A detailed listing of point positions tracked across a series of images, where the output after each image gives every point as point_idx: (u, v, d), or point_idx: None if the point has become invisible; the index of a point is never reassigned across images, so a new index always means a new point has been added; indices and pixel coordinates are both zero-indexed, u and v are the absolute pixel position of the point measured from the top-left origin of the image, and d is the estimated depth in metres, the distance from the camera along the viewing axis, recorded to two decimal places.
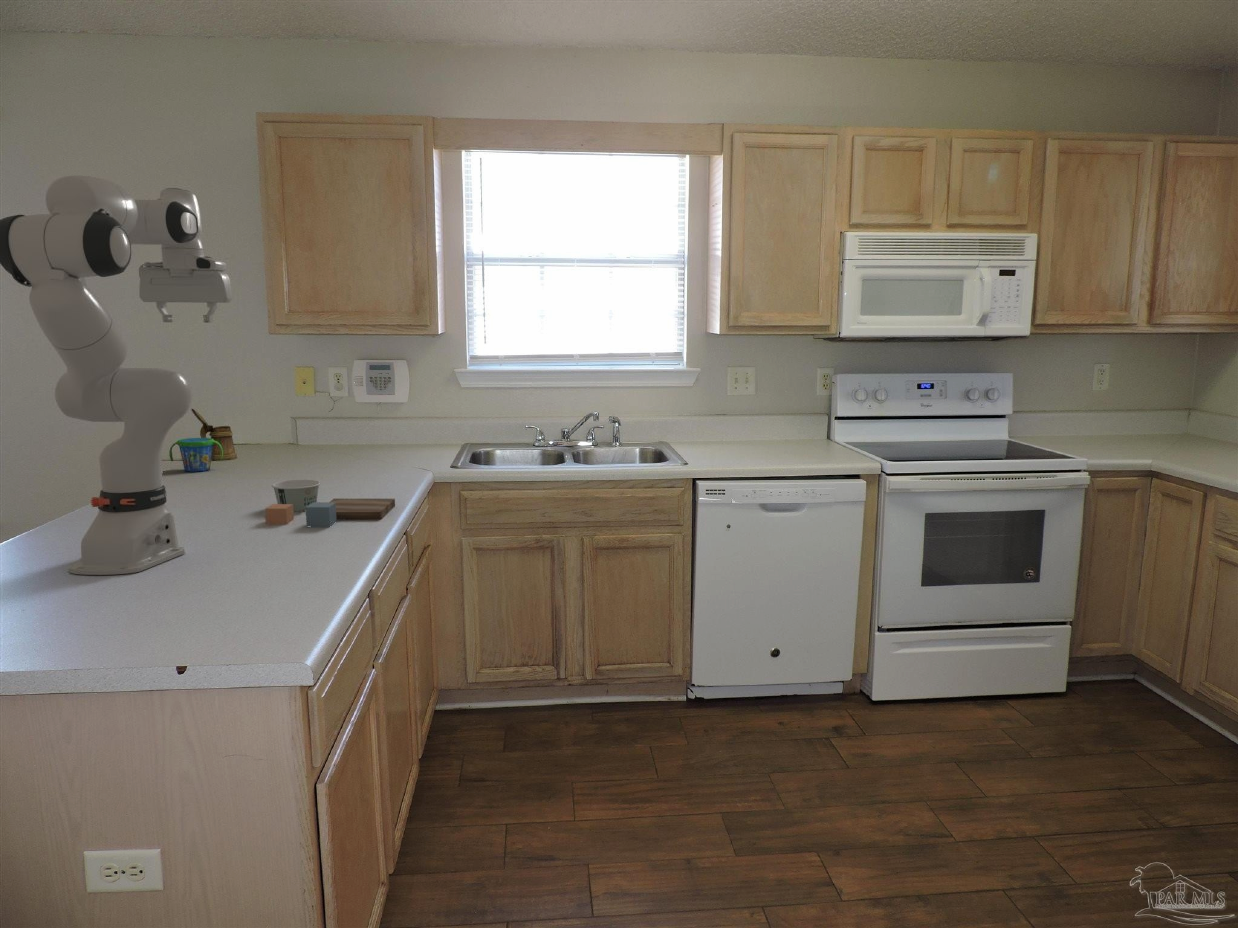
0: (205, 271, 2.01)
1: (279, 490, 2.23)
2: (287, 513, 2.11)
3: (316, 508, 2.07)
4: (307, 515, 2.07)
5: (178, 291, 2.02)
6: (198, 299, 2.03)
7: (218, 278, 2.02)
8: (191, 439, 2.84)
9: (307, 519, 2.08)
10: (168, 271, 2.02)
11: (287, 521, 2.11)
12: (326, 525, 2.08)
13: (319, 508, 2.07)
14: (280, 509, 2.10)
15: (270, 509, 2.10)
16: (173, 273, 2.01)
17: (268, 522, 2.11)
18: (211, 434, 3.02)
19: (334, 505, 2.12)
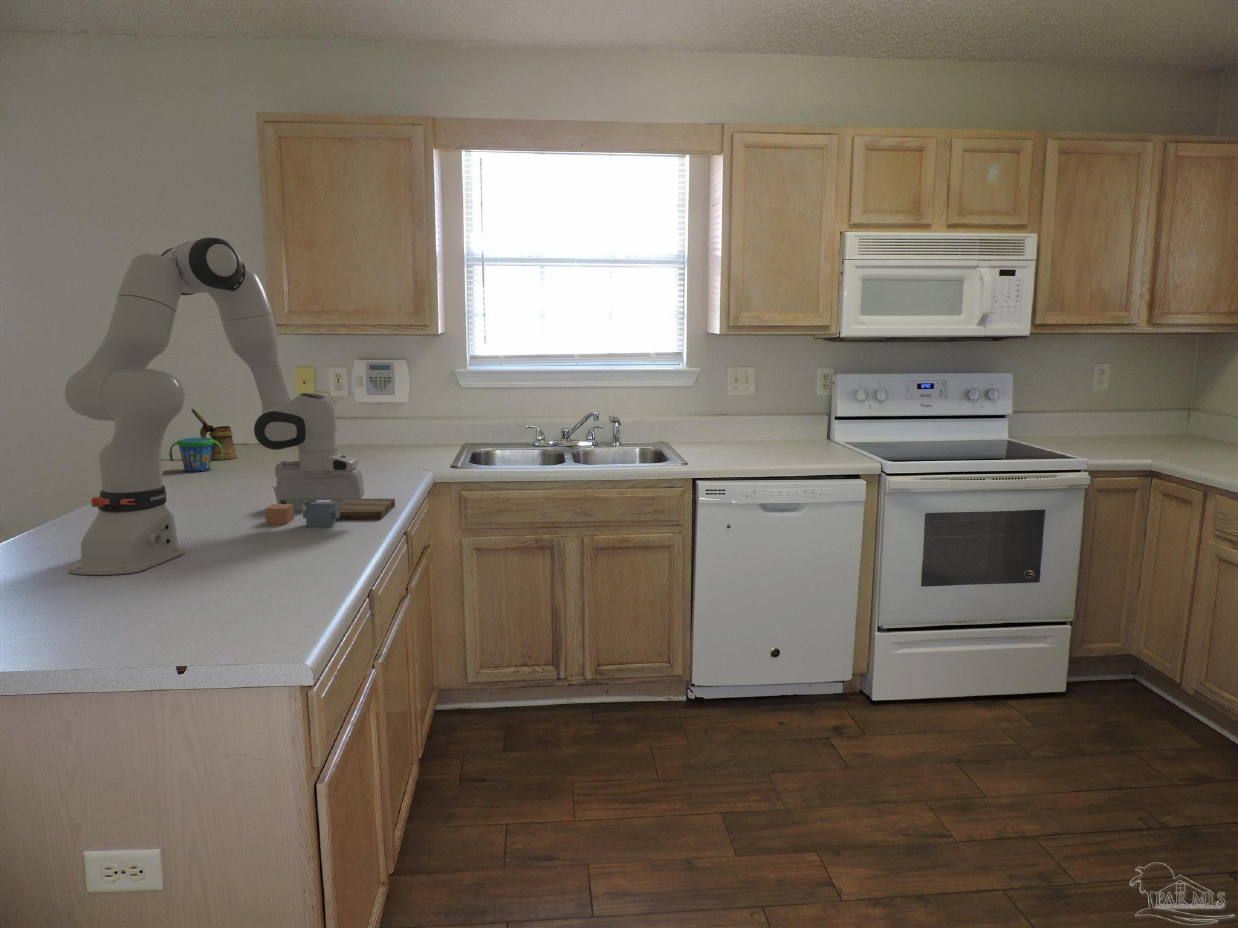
0: (341, 472, 2.06)
1: None
2: (287, 513, 2.11)
3: (316, 507, 2.07)
4: (307, 514, 2.07)
5: (314, 490, 2.08)
6: (333, 497, 2.08)
7: (353, 478, 2.07)
8: (191, 439, 2.84)
9: (307, 518, 2.08)
10: (304, 471, 2.07)
11: (287, 521, 2.11)
12: (326, 525, 2.08)
13: (319, 507, 2.07)
14: (280, 509, 2.10)
15: (270, 509, 2.10)
16: (310, 474, 2.06)
17: (268, 522, 2.11)
18: (211, 434, 3.02)
19: (334, 504, 2.12)
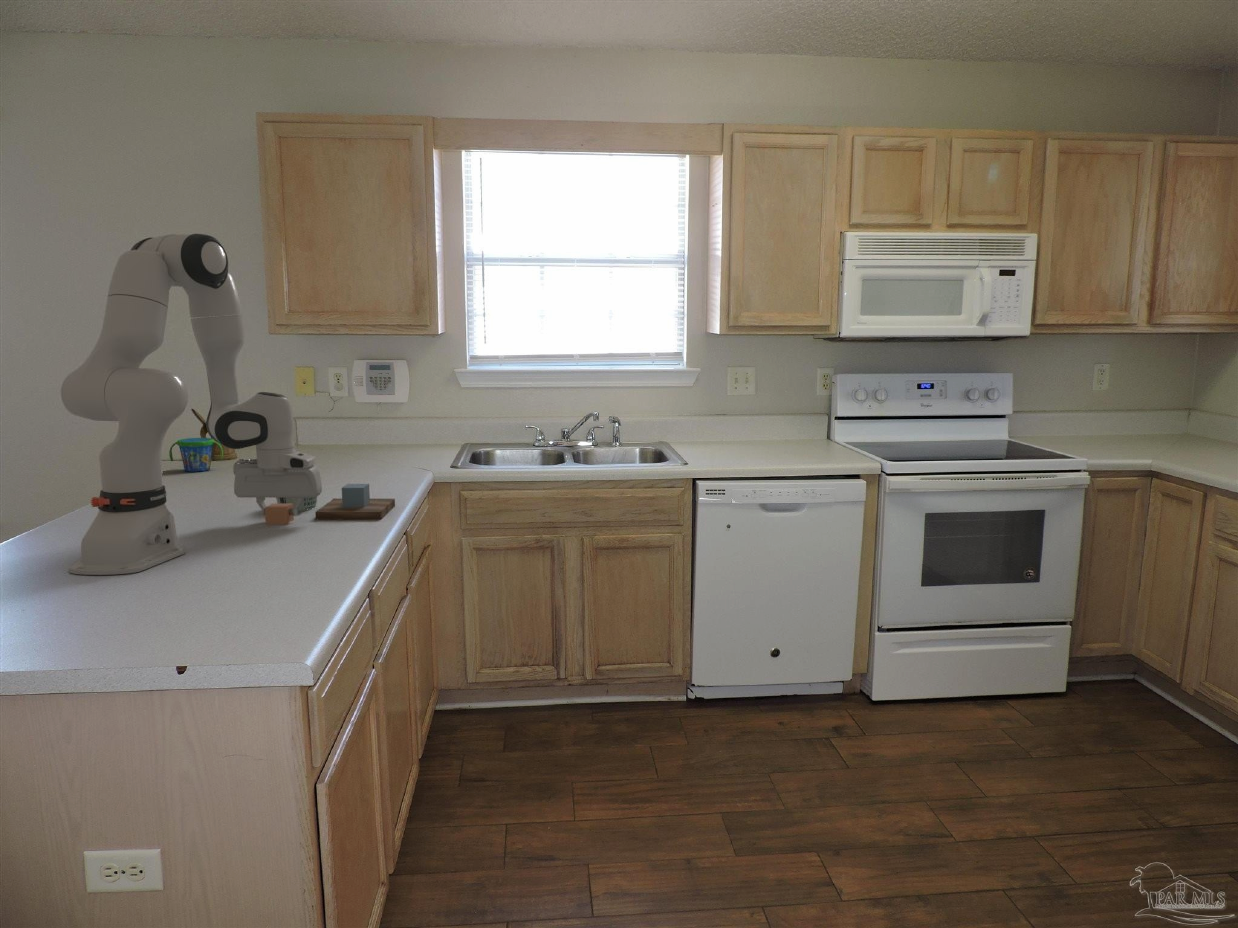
0: (298, 469, 2.09)
1: None
2: (287, 512, 2.11)
3: (351, 489, 2.20)
4: (343, 495, 2.20)
5: (272, 487, 2.10)
6: (290, 495, 2.11)
7: (310, 475, 2.09)
8: (191, 439, 2.84)
9: (343, 499, 2.20)
10: (262, 469, 2.09)
11: (287, 520, 2.11)
12: (361, 505, 2.21)
13: (354, 489, 2.20)
14: (280, 508, 2.10)
15: (270, 508, 2.10)
16: (267, 472, 2.08)
17: (268, 521, 2.11)
18: None
19: (368, 486, 2.24)
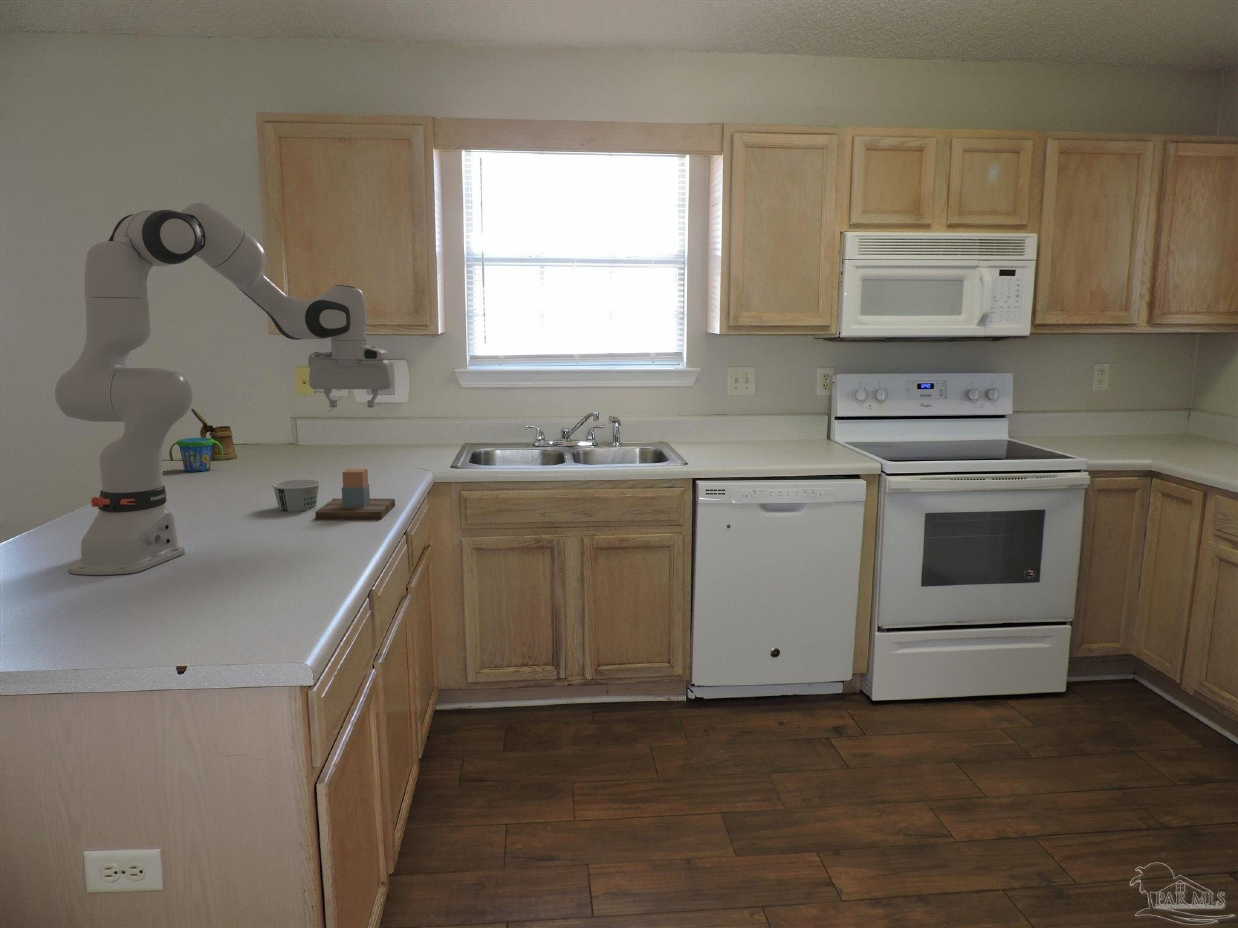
0: (372, 361, 2.15)
1: (279, 490, 2.23)
2: (363, 476, 2.20)
3: (351, 489, 2.20)
4: (343, 495, 2.20)
5: (346, 379, 2.16)
6: (364, 386, 2.17)
7: (383, 367, 2.16)
8: (191, 439, 2.84)
9: (343, 499, 2.20)
10: (336, 361, 2.16)
11: (363, 484, 2.21)
12: (361, 505, 2.21)
13: (354, 489, 2.20)
14: (357, 473, 2.20)
15: (347, 472, 2.19)
16: (342, 363, 2.15)
17: (345, 485, 2.20)
18: (211, 434, 3.02)
19: (368, 486, 2.24)
